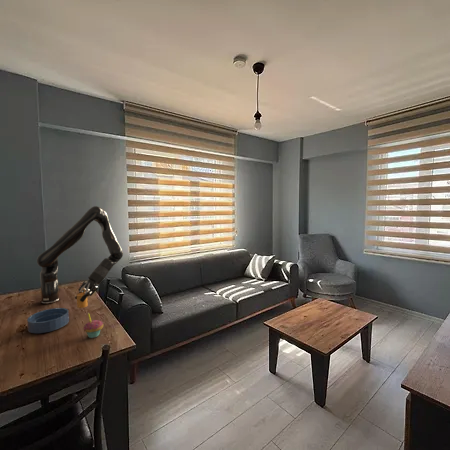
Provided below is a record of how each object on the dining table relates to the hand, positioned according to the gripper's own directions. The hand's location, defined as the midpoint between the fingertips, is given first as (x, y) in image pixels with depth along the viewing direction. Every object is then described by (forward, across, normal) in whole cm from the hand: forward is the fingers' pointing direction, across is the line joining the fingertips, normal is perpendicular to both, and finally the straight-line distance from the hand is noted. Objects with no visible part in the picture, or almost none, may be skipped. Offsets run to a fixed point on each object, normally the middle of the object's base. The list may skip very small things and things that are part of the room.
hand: (78, 300), depth 139 cm
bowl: (+17, +2, +3) cm, 17 cm away
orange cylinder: (+2, 0, -4) cm, 5 cm away
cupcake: (+11, -26, -4) cm, 29 cm away
